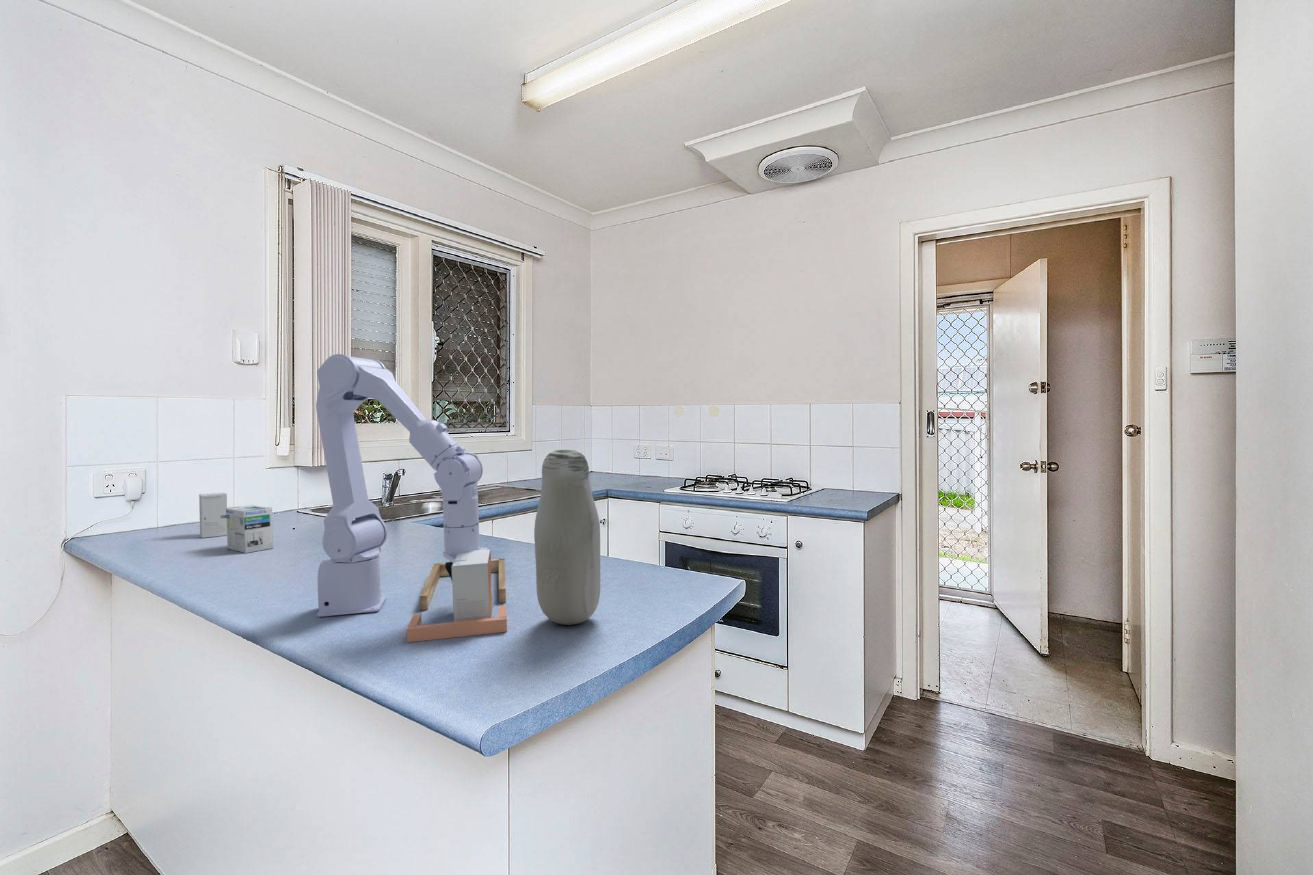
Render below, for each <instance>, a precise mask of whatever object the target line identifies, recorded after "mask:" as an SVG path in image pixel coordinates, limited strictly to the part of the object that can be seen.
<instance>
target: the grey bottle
mask: <svg viewBox="0 0 1313 875" xmlns="http://www.w3.org/2000/svg"><path fill="white" fill-rule="evenodd" d="M542 462H543V463H542V467H541V488H540V489H541V492H540V497H539V501H538V506H537V509H536V510H537V511H536V515H535V520H534V527H533V528H534V530H533V531H534V536H533V537H534V556H535V557H534V558H535V578H536V579H535V583H536V596H537V602H538V605H539V607H540V609H541V611H542V613H543V614H544V615H545V616H546V617H547V619H549V620H550V621H552V622H554V623H556V624H559V625H567V626H571V625H573V626H574V625H577V624H581V623H584V622H586V621H587V620H588V619H590V617H593V615H594V613H595V612H596V610H597V608H598V605H599V603H600V602H599V601H600V595H601V525H600V519H599V512H598V508H597V507H596V502H595V500H594V496H593V494H592V493H593V492H592V487H591V483H590V478H589V474H590V473H589V472H590V469H589V468H590V466H589V463H588V461H587V458H586V456H585V455H584V454H583V453H581V452H579V451H577V450H574V449H573V450H572V449H556V450H553V451H551V452H549V453H548V454H547V455H546V456H545V458H544V460H543V461H542Z"/></svg>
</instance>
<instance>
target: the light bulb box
mask: <svg viewBox="0 0 1313 875" xmlns="http://www.w3.org/2000/svg"><path fill="white" fill-rule="evenodd" d="M226 521H227V535H226V540H227V549H228V550H233V551H237V552H240V553H243V554H249V553H254V552H259V551H260V552H261V551H265V550H269V549H274V548H275V545H274V542H275V541H274V528H273V527H274V524H273V522H274V521H273V508H272V506H271V507H269V506H263V505H262V506H261V505H255V504H249V505H241V506H240V505H239V506H231V507H228V506H227V508H226Z"/></svg>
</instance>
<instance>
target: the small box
mask: <svg viewBox="0 0 1313 875" xmlns="http://www.w3.org/2000/svg"><path fill="white" fill-rule="evenodd" d="M460 557H461V560H465V559H466V558H467V560H466V561H458V562H454V563H453V565H452V580H451V584H452V585H451V586H452V588H451V590H452V606H453V607H452V608H453V622H456V621H466V620H476V619H486V618H492V614H493V596H492V595H493V586H492V585H493V584H492V582H493V581H492V572H491V559H492V553H491V549H488V548H487V549H485V550H474V551H470V552H465V553H458V554H456V558H455V560H459V558H460Z"/></svg>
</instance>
